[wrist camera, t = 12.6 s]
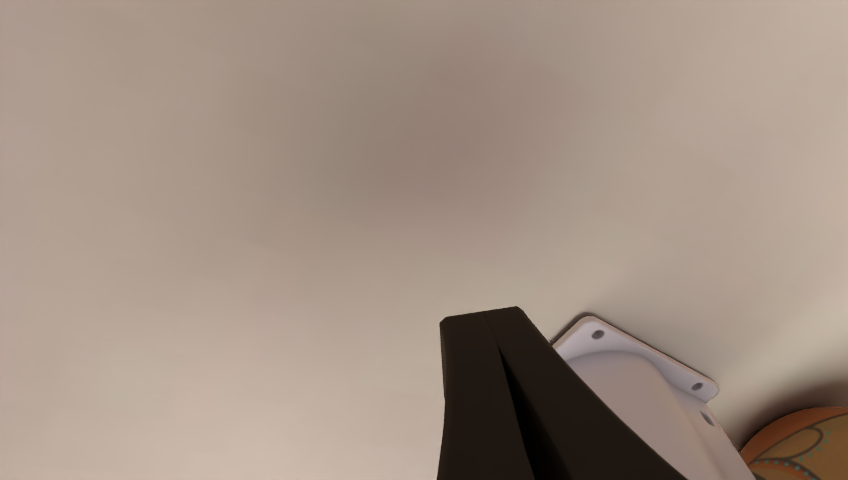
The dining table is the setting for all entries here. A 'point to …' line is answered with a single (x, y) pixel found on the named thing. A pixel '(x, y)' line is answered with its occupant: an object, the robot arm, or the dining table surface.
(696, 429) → the robot arm
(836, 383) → the dining table surface
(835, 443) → the ceramic vessel
